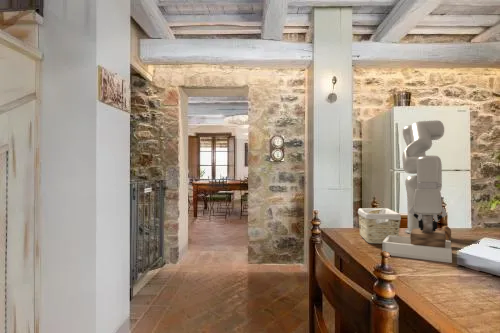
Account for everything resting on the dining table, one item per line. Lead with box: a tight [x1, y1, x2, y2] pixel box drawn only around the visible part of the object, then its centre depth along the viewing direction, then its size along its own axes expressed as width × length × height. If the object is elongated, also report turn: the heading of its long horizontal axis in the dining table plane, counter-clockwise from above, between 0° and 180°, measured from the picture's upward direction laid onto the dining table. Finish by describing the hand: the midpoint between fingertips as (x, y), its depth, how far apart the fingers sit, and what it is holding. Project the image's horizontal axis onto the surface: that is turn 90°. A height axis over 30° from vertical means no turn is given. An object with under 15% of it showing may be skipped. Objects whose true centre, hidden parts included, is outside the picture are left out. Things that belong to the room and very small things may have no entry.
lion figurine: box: [440, 225, 452, 241], centre depth 143 cm, size 15×5×9 cm, turn 117°
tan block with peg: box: [409, 215, 446, 248], centre depth 131 cm, size 12×12×15 cm
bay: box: [382, 235, 453, 264], centre depth 133 cm, size 25×17×5 cm
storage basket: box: [357, 207, 402, 245], centre depth 161 cm, size 24×16×15 cm
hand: (428, 229), depth 131 cm, fingers closed on tan block with peg, 4 cm apart
